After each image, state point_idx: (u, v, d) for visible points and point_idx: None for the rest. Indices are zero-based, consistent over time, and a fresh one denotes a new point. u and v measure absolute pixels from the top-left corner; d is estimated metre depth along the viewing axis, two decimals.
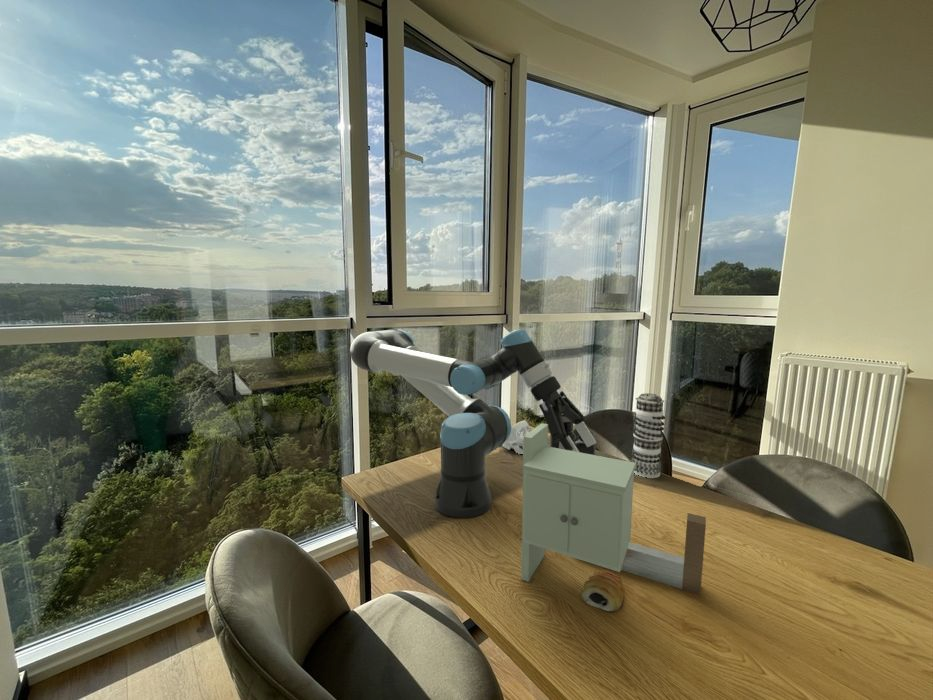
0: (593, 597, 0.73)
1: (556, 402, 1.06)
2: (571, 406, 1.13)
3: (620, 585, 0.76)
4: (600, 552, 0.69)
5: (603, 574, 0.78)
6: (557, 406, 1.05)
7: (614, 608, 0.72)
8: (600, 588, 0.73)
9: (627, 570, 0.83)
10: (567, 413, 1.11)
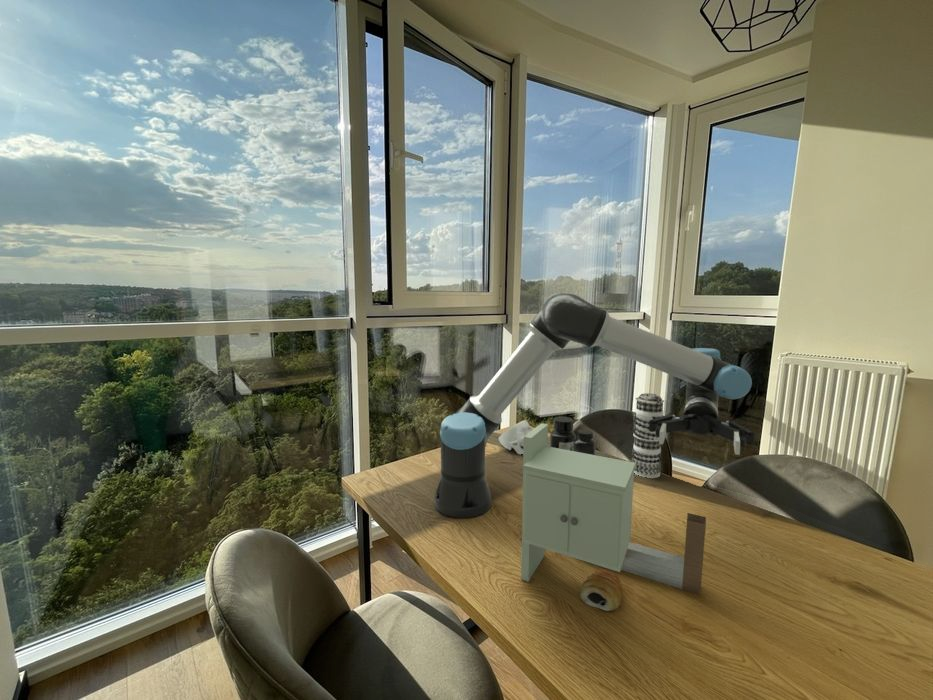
0: (592, 597, 0.73)
1: None
2: None
3: (618, 585, 0.76)
4: (600, 552, 0.69)
5: (601, 574, 0.78)
6: None
7: (613, 608, 0.72)
8: (598, 588, 0.73)
9: (627, 570, 0.83)
10: (679, 425, 0.95)
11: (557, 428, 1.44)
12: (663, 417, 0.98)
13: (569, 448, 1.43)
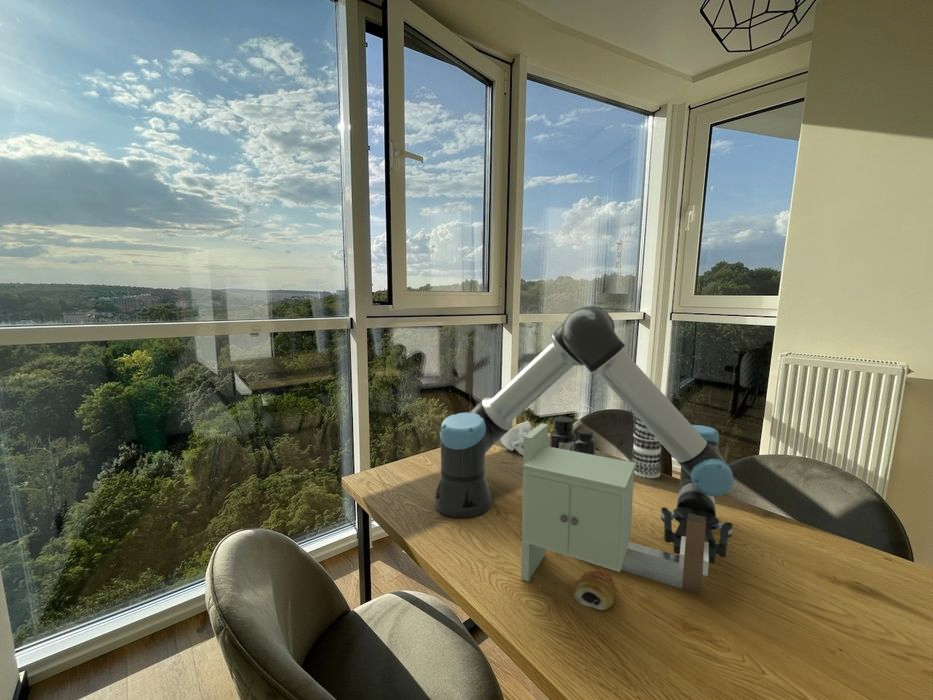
0: (586, 596, 0.74)
1: None
2: None
3: (611, 583, 0.76)
4: (600, 552, 0.69)
5: (594, 573, 0.78)
6: None
7: (607, 607, 0.72)
8: (592, 587, 0.73)
9: (627, 570, 0.83)
10: None
11: (557, 428, 1.44)
12: (668, 518, 0.85)
13: (569, 448, 1.43)
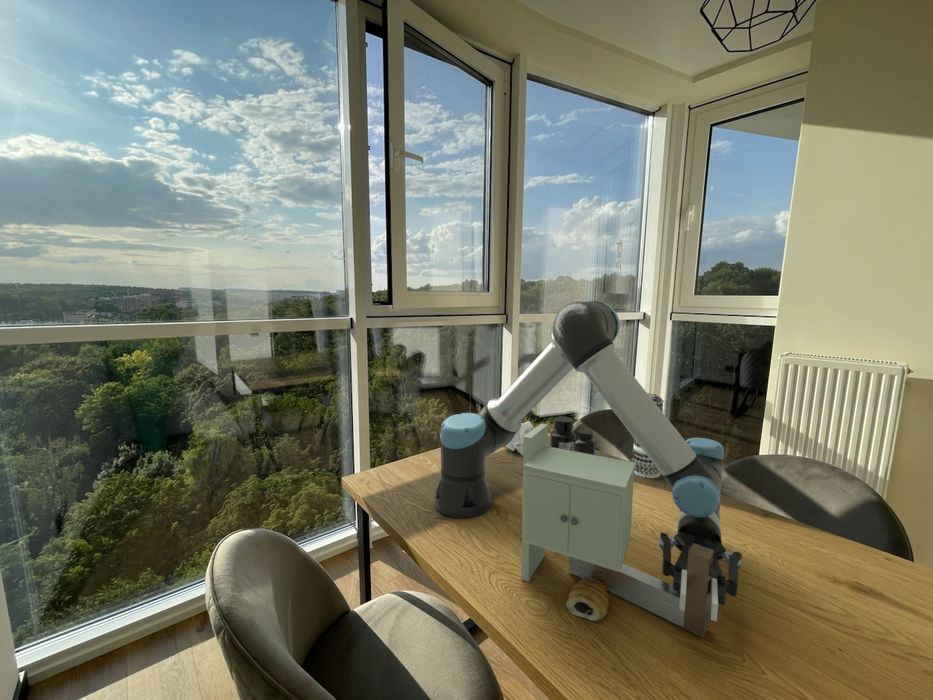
0: (578, 606, 0.71)
1: None
2: None
3: (605, 593, 0.74)
4: (600, 552, 0.69)
5: (587, 582, 0.75)
6: None
7: (600, 617, 0.69)
8: (585, 597, 0.71)
9: (624, 597, 0.75)
10: None
11: (557, 428, 1.44)
12: (667, 547, 0.75)
13: (569, 448, 1.43)
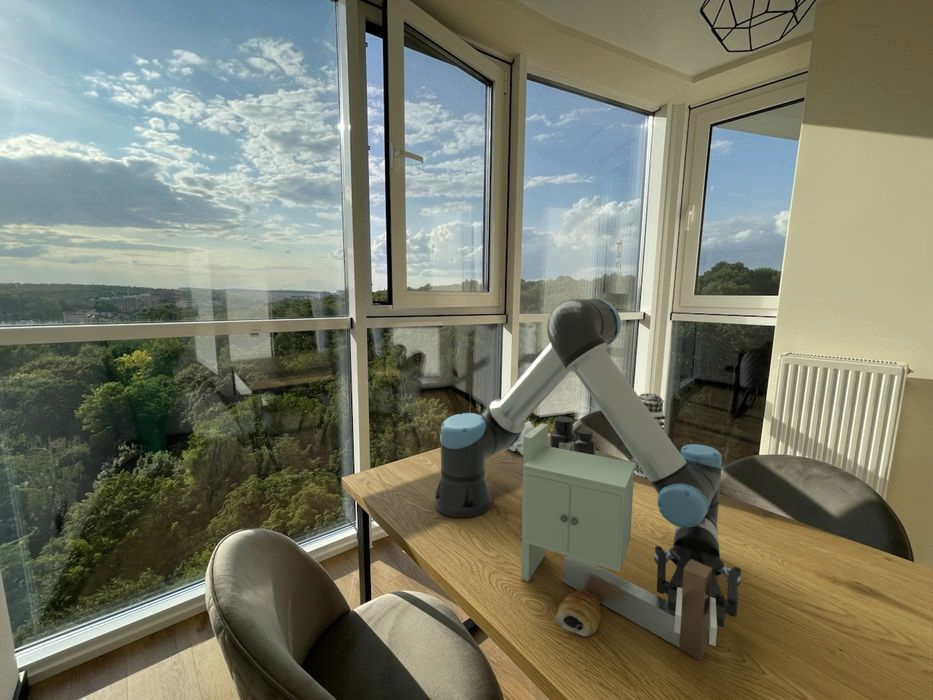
0: (568, 620, 0.68)
1: None
2: None
3: (597, 606, 0.71)
4: (600, 552, 0.69)
5: (579, 594, 0.72)
6: None
7: (590, 633, 0.66)
8: (575, 611, 0.68)
9: (619, 612, 0.71)
10: None
11: (557, 428, 1.44)
12: (662, 562, 0.71)
13: (569, 448, 1.43)
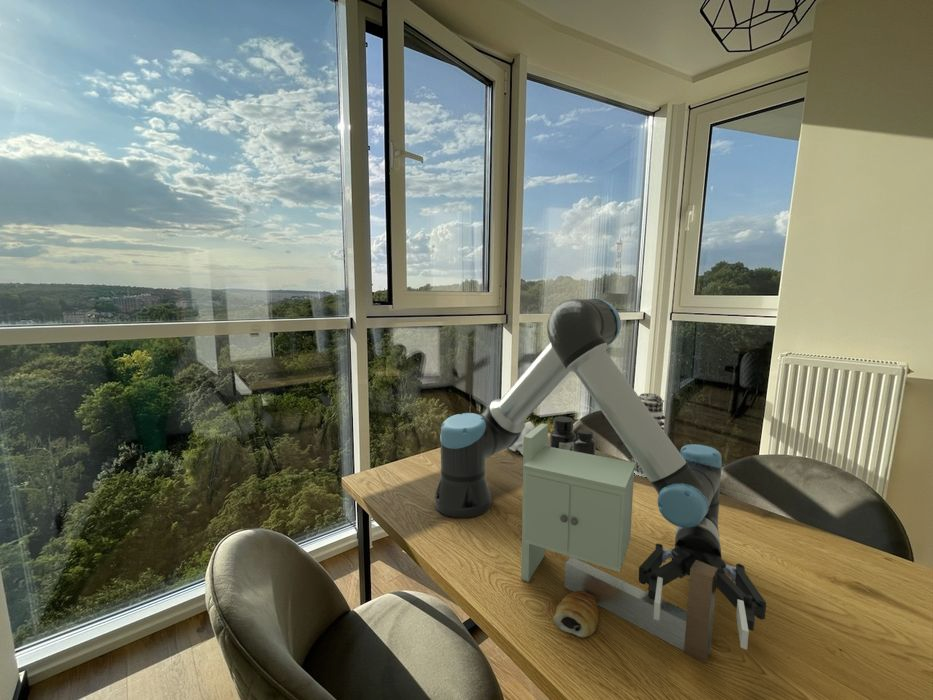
0: (565, 621, 0.68)
1: None
2: (656, 569, 0.72)
3: (595, 607, 0.70)
4: (600, 552, 0.69)
5: (577, 595, 0.72)
6: None
7: (587, 634, 0.66)
8: (573, 612, 0.68)
9: (622, 616, 0.71)
10: (675, 571, 0.70)
11: (557, 428, 1.44)
12: (653, 556, 0.72)
13: (569, 448, 1.43)
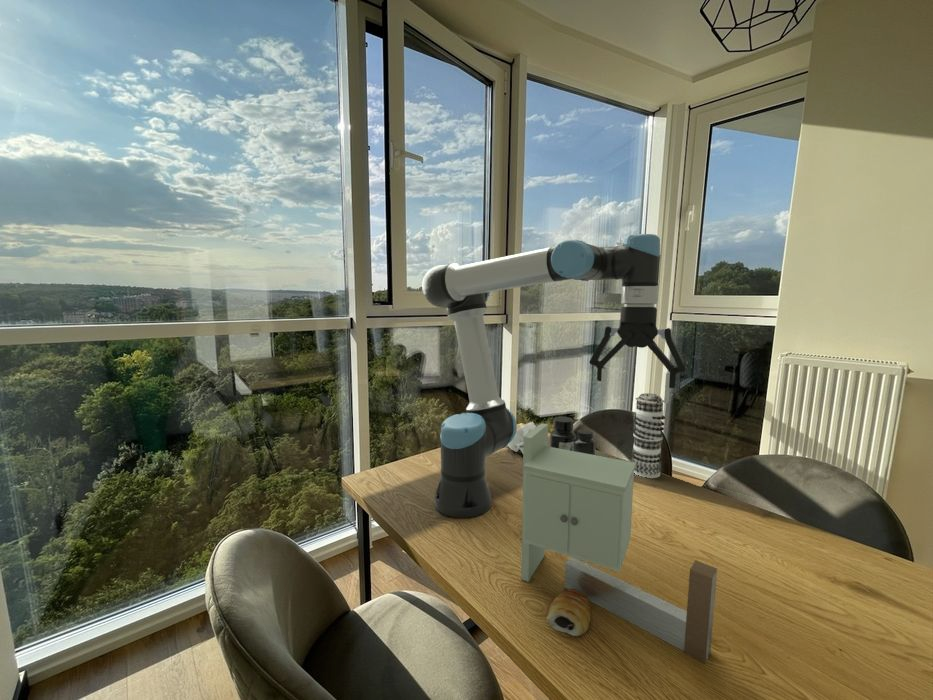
0: (559, 621, 0.68)
1: (626, 334, 0.93)
2: None
3: (587, 605, 0.71)
4: (600, 552, 0.69)
5: (569, 594, 0.72)
6: (622, 338, 0.93)
7: (581, 632, 0.66)
8: (566, 611, 0.68)
9: (622, 616, 0.71)
10: None
11: (557, 428, 1.44)
12: None
13: (569, 448, 1.43)
